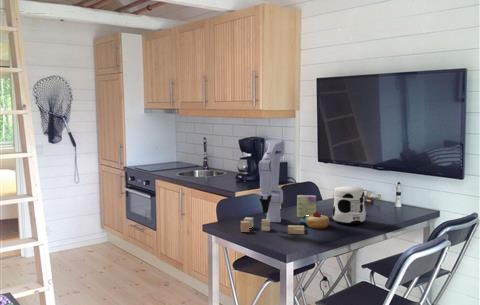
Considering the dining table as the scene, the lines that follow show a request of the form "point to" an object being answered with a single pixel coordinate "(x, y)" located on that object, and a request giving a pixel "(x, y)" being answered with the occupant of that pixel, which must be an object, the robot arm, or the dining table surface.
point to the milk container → (349, 205)
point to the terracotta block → (244, 226)
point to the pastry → (317, 221)
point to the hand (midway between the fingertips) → (265, 211)
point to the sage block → (249, 221)
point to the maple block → (265, 224)
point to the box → (306, 205)
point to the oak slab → (295, 229)
